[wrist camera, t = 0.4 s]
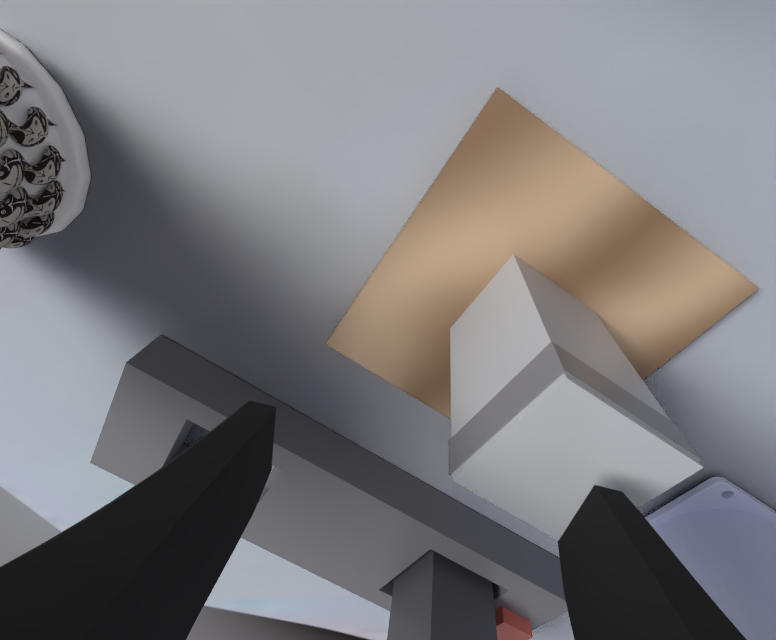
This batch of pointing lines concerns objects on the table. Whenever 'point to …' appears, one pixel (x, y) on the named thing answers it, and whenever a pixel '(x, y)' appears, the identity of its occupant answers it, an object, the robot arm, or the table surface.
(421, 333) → the cork mat
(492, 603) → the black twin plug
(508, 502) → the grey plug
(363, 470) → the power strip
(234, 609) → the table surface
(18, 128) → the decorative candle
